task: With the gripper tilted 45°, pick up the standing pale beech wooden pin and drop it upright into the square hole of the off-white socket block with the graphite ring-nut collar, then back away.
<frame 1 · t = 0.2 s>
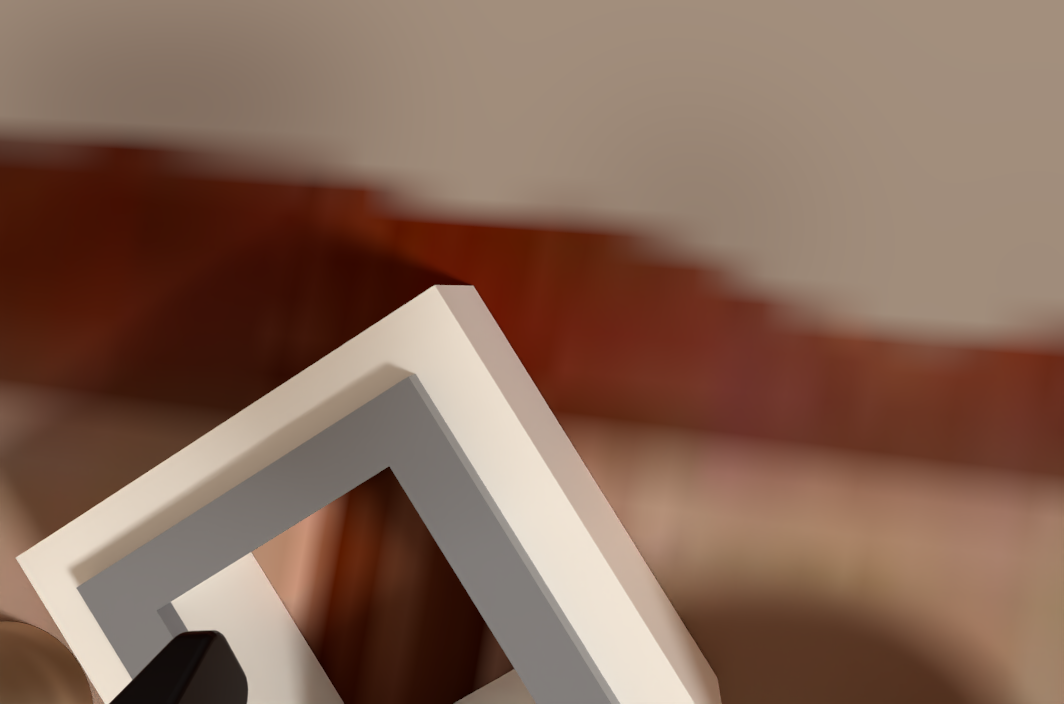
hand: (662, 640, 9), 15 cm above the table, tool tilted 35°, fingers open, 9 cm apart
socket block: (406, 593, 25), on the table
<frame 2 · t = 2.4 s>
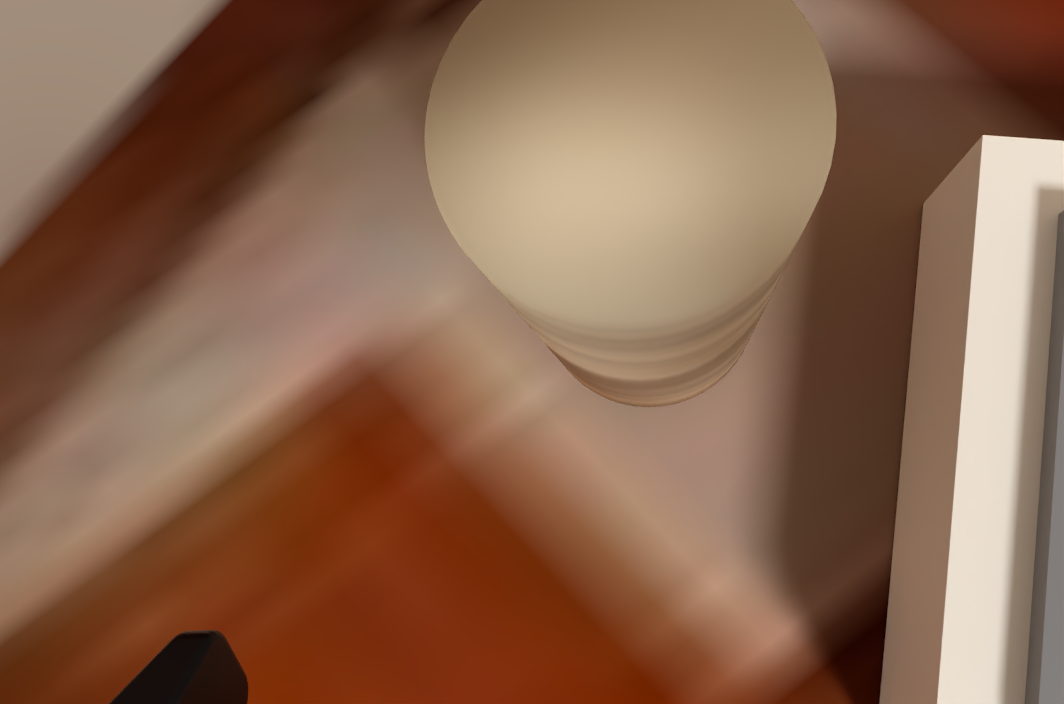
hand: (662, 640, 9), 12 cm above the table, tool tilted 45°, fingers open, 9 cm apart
beech pin: (648, 302, 22), on the table
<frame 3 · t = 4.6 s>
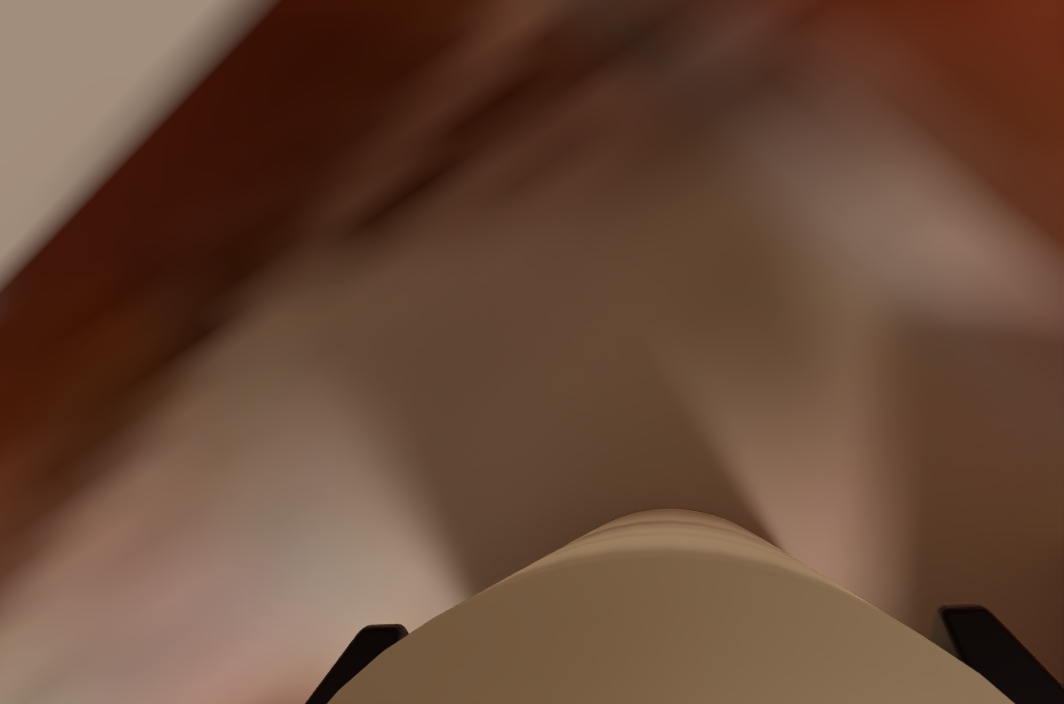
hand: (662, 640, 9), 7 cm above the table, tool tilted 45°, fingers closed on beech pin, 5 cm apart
beech pin: (673, 661, 15), on the table, touching gripper
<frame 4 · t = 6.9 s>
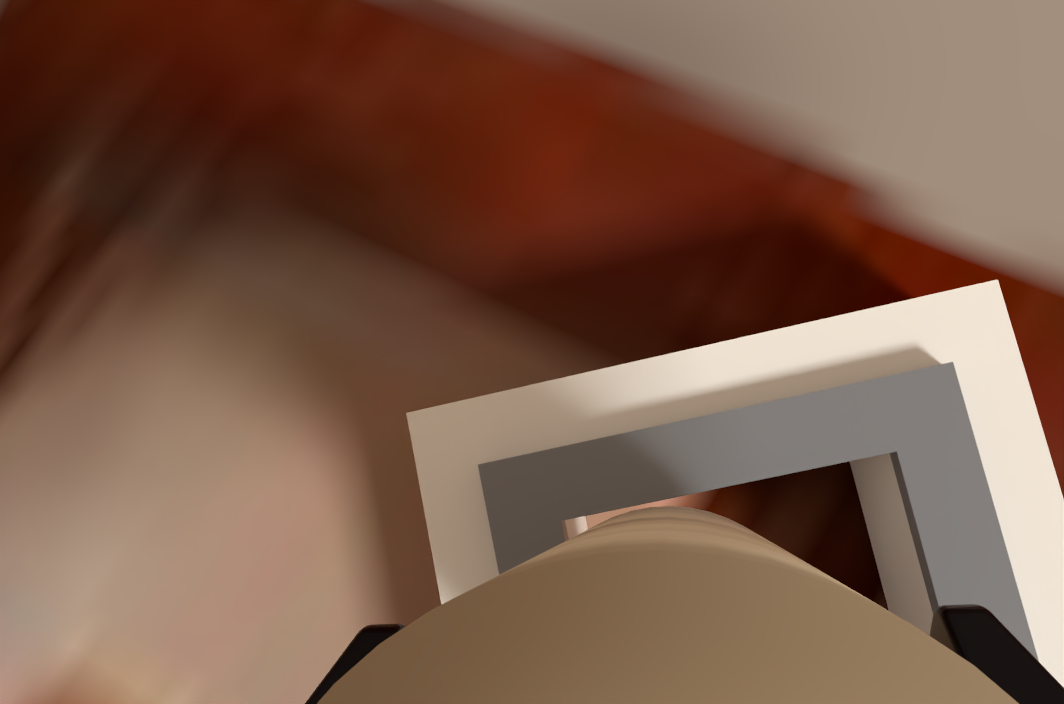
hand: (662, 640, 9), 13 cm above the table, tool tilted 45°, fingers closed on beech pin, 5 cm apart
beech pin: (672, 659, 15), point 7 cm above the table, touching gripper
socket block: (746, 620, 22), on the table
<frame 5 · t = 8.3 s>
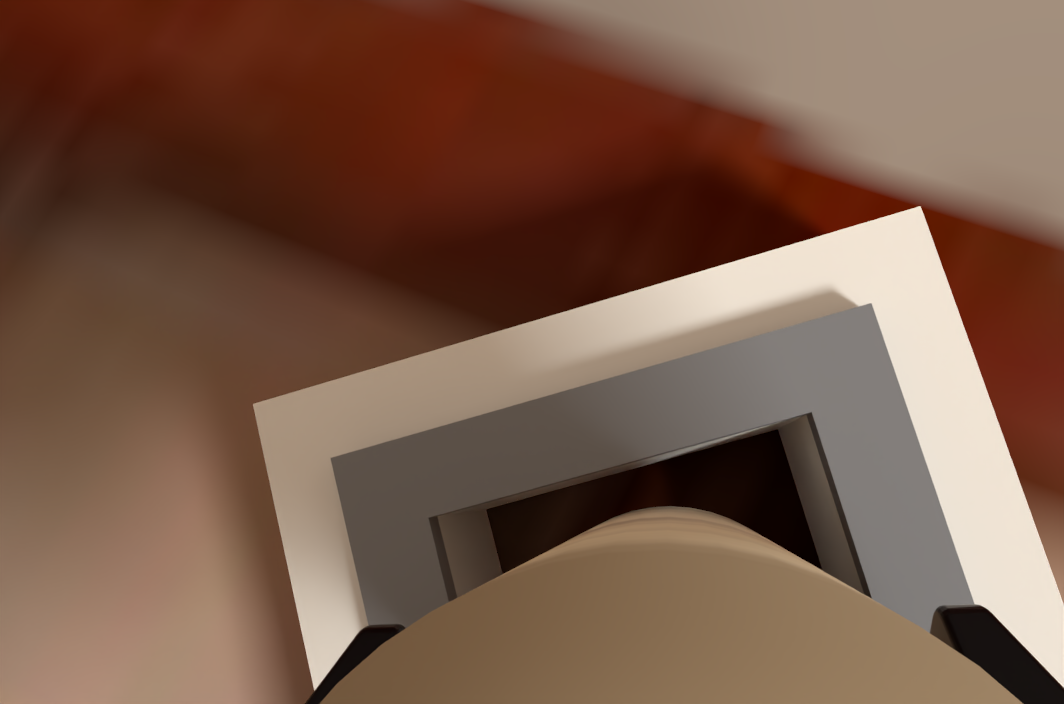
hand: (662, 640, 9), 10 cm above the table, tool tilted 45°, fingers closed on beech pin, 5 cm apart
beech pin: (673, 659, 15), point 4 cm above the table, touching gripper
socket block: (672, 621, 19), on the table
when the fingers open (8 cm above the table, at t = 9.2 s): beech pin drops 1 cm, resting in socket block.
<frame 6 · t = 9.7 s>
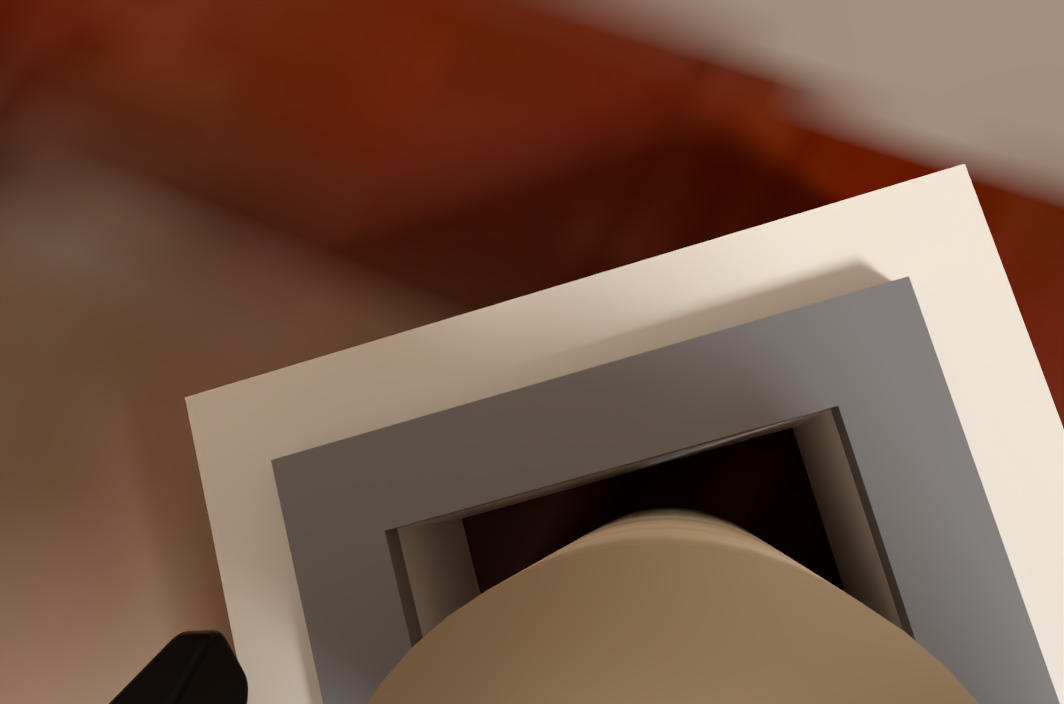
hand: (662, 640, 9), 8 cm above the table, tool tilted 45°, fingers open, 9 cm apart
beech pin: (672, 647, 17), resting in socket block
socket block: (672, 646, 17), on the table
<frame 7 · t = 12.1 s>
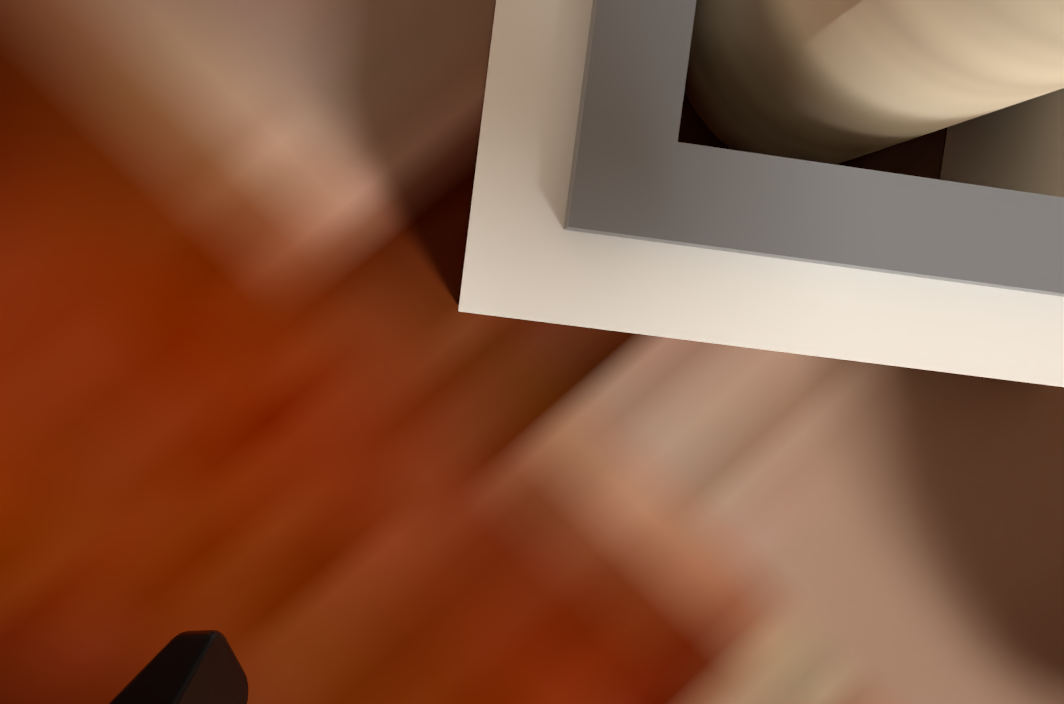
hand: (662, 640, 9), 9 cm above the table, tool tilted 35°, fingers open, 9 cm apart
beech pin: (800, 41, 18), resting in socket block
socket block: (801, 40, 18), on the table
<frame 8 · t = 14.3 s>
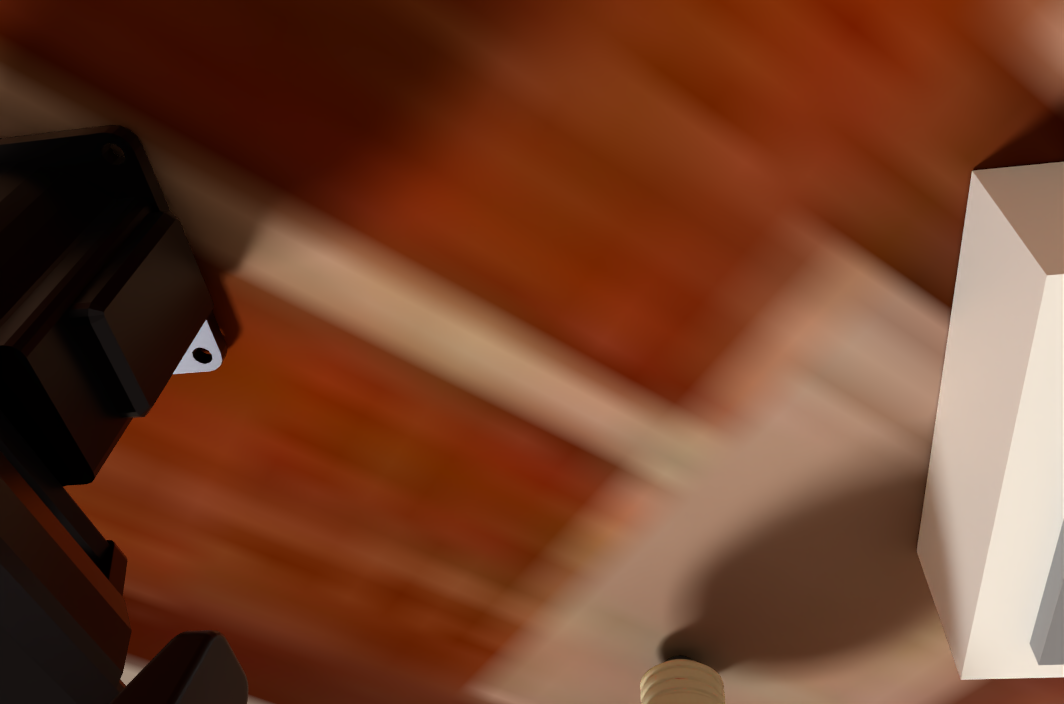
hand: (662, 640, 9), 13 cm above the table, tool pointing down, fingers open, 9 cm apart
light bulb: (679, 657, 31), on the table
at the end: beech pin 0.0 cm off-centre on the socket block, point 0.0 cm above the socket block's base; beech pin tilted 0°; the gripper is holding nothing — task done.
